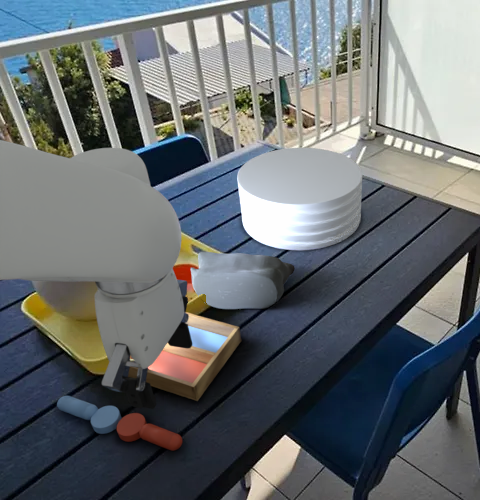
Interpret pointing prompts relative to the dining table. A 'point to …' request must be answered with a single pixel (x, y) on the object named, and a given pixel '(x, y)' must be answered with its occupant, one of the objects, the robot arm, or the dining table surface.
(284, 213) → the plate stack
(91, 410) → the blue disc-ended peg
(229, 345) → the caddy
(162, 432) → the red knob peg
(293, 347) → the dining table surface
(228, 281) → the rock
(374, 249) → the dining table surface
